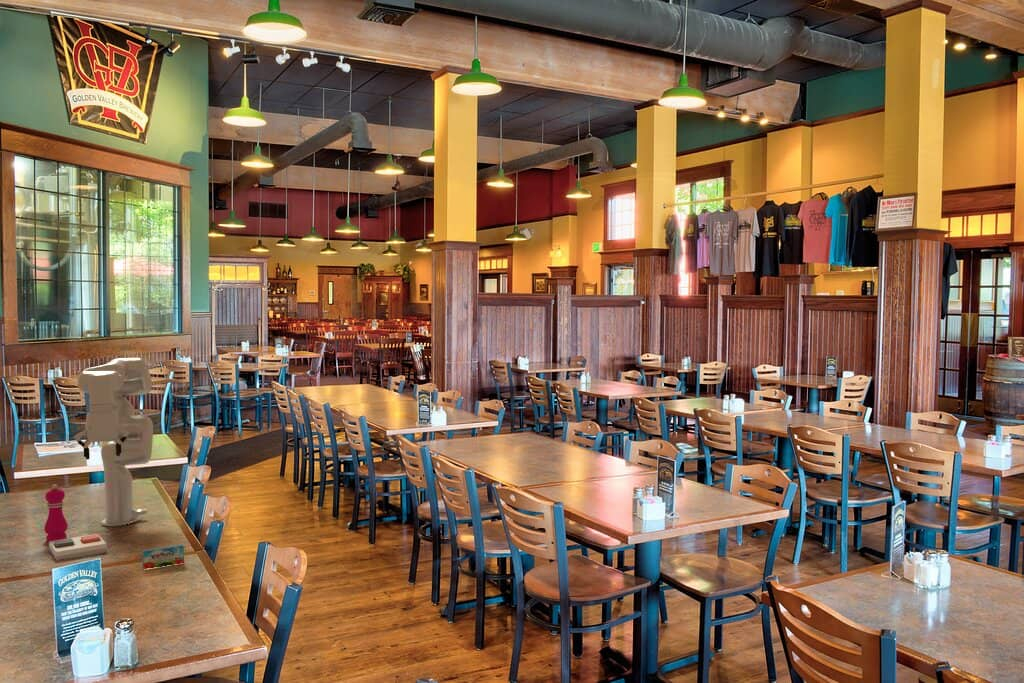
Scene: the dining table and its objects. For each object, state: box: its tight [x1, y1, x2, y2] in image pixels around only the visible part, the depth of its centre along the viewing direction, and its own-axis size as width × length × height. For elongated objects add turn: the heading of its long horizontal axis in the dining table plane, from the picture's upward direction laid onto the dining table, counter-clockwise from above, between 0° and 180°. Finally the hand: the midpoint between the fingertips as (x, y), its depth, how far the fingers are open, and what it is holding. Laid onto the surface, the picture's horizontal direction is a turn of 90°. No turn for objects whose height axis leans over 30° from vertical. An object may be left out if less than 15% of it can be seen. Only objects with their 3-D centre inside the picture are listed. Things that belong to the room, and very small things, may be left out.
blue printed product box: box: [141, 544, 185, 570], centre depth 256 cm, size 12×2×6 cm, turn 120°
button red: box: [81, 533, 101, 544], centre depth 276 cm, size 5×5×2 cm
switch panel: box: [48, 533, 108, 561], centre depth 274 cm, size 15×15×3 cm
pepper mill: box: [44, 483, 69, 543], centre depth 287 cm, size 7×7×20 cm
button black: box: [54, 537, 74, 548], centre depth 271 cm, size 5×5×2 cm
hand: (102, 457), depth 282 cm, fingers open, 9 cm apart
